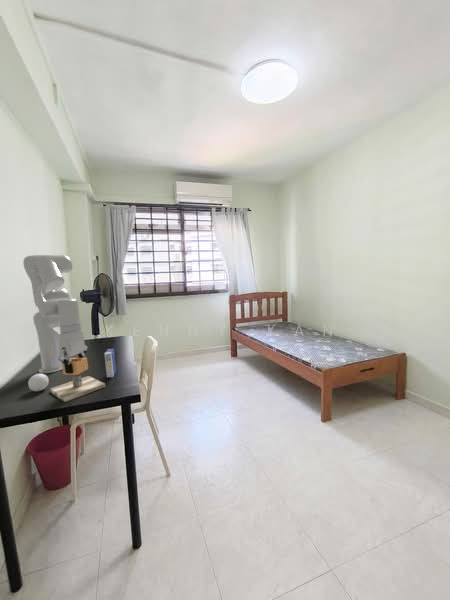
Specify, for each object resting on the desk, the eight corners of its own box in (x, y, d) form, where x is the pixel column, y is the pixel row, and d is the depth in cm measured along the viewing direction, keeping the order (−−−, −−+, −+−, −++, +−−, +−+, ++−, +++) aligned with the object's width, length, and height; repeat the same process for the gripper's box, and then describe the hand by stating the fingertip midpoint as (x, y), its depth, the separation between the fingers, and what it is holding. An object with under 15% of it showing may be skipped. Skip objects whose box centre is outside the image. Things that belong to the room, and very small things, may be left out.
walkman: (110, 372, 133) (107, 348, 132) (116, 371, 134) (113, 347, 133) (106, 378, 126) (103, 353, 124) (112, 377, 126) (110, 352, 125)
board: (50, 391, 114) (48, 378, 113) (89, 378, 126) (87, 366, 125) (64, 402, 103) (62, 387, 103) (105, 386, 115) (103, 373, 115)
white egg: (32, 388, 118) (29, 372, 117) (51, 385, 120) (49, 369, 120) (24, 398, 109) (21, 381, 108) (45, 394, 111) (43, 377, 110)
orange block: (63, 374, 111) (61, 362, 110) (74, 368, 117) (73, 357, 117) (77, 374, 110) (75, 362, 109) (88, 368, 116) (86, 357, 116)
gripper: (77, 324, 121) (82, 362, 123) (45, 333, 104) (51, 378, 106) (92, 324, 119) (96, 362, 121) (62, 333, 102) (68, 378, 104)
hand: (75, 369), depth 113 cm, fingers closed on orange block, 6 cm apart
